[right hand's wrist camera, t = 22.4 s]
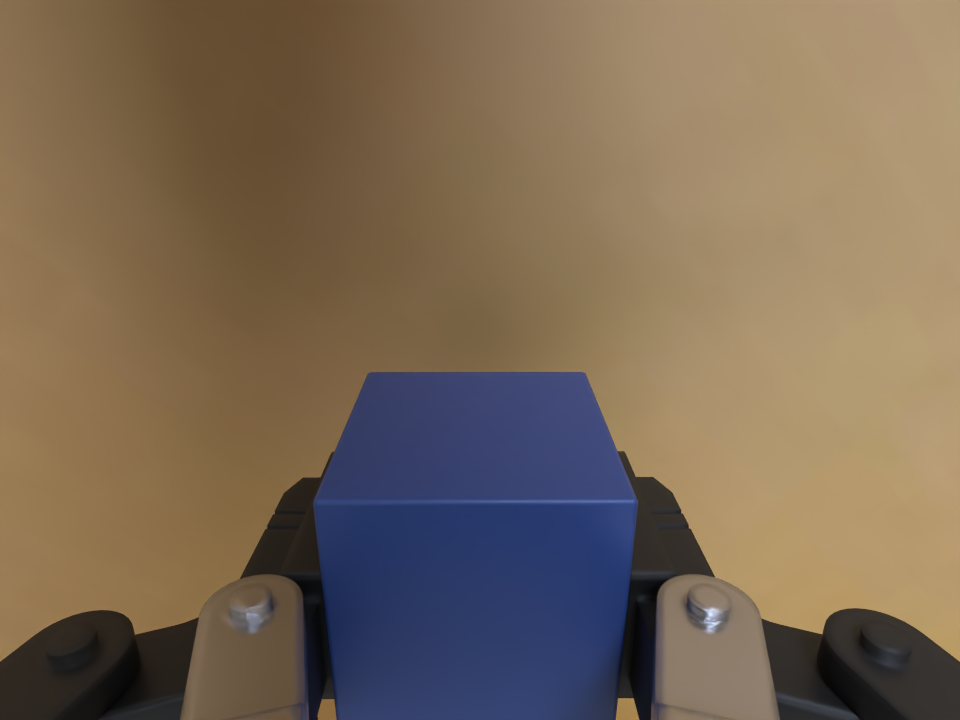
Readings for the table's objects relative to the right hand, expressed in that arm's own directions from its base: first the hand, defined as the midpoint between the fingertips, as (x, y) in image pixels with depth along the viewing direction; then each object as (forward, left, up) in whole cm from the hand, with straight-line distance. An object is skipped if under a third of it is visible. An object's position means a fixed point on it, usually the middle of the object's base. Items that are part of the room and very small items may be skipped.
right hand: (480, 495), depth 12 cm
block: (0, 0, 0) cm, 0 cm away
